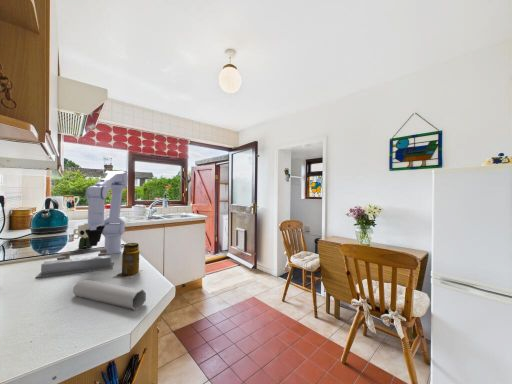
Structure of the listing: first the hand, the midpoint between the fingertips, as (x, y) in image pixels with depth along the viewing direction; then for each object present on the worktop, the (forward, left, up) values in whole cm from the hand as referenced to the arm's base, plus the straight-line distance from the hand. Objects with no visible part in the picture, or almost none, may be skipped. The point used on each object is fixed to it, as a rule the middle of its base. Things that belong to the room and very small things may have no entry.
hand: (95, 243), depth 94 cm
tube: (+38, +8, -10) cm, 40 cm away
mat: (+3, -5, -10) cm, 11 cm away
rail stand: (-6, -5, -10) cm, 13 cm away
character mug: (-37, -9, -10) cm, 40 cm away
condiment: (+17, +13, -10) cm, 23 cm away
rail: (+3, -5, -9) cm, 11 cm away
